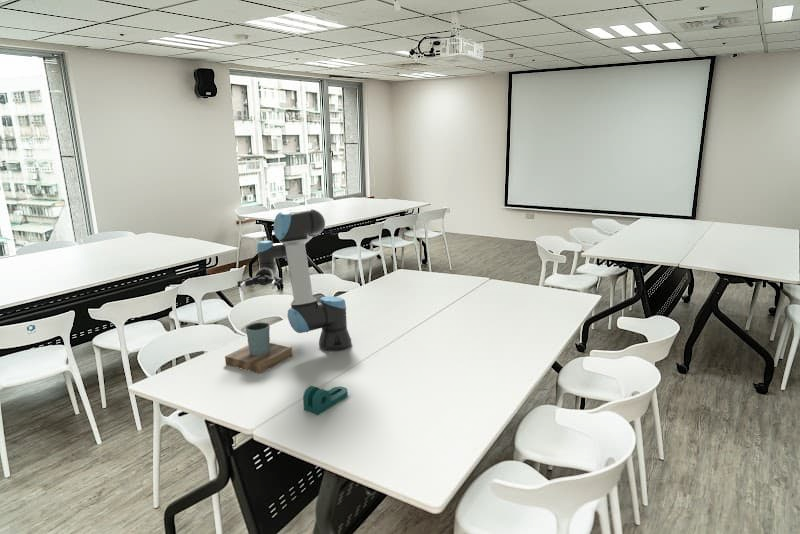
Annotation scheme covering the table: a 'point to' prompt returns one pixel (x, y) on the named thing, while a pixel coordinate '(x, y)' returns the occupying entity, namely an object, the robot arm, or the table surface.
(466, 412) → the table surface
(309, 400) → the bracket
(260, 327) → the blue green cup
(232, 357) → the walnut riser
